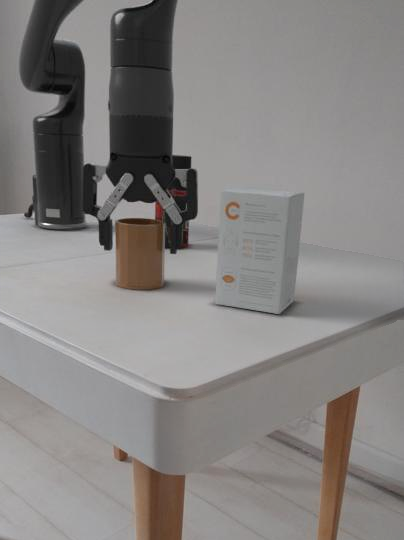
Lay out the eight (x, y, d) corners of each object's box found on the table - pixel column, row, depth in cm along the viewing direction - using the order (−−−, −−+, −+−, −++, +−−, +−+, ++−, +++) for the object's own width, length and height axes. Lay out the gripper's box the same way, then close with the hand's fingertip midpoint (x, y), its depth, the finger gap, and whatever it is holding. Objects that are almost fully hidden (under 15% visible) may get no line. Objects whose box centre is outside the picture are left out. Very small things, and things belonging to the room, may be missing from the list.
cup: (105, 283, 73) (104, 220, 70) (136, 275, 78) (136, 216, 75) (143, 292, 70) (144, 226, 67) (172, 283, 75) (174, 222, 72)
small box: (294, 302, 69) (306, 191, 64) (279, 315, 63) (291, 195, 58) (232, 292, 72) (239, 186, 67) (213, 304, 66) (219, 189, 61)
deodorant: (187, 249, 97) (190, 157, 92) (152, 247, 97) (154, 155, 92) (188, 243, 103) (192, 156, 97) (156, 241, 103) (157, 154, 97)
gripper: (203, 117, 69) (197, 249, 75) (88, 111, 70) (92, 243, 76) (200, 114, 62) (194, 260, 68) (72, 108, 63) (78, 254, 69)
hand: (140, 251), depth 72 cm, fingers open, 8 cm apart
